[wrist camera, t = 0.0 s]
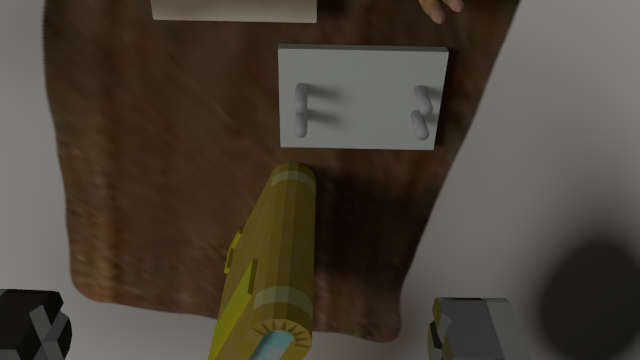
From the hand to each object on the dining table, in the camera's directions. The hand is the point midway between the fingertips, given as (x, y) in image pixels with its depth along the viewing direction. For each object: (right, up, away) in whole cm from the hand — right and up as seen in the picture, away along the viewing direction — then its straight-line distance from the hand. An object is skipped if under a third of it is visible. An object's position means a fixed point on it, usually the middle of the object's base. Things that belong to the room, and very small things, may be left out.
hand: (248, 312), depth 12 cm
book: (-4, -1, +59) cm, 59 cm away
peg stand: (+6, +12, +49) cm, 51 cm away
